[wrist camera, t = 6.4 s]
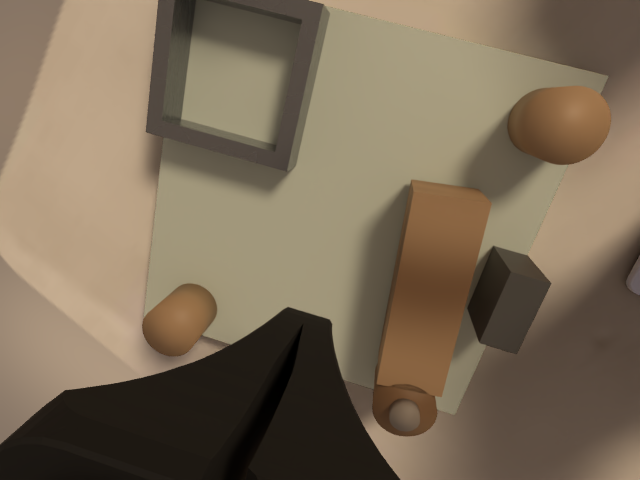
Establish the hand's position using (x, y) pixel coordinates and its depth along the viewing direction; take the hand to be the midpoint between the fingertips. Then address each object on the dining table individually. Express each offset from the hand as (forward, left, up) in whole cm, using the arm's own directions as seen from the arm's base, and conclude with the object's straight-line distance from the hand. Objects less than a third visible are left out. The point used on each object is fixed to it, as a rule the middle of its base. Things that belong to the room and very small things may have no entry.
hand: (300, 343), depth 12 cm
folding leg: (-4, +1, -7) cm, 8 cm away
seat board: (0, -2, -8) cm, 9 cm away
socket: (+5, -6, -7) cm, 11 cm away
